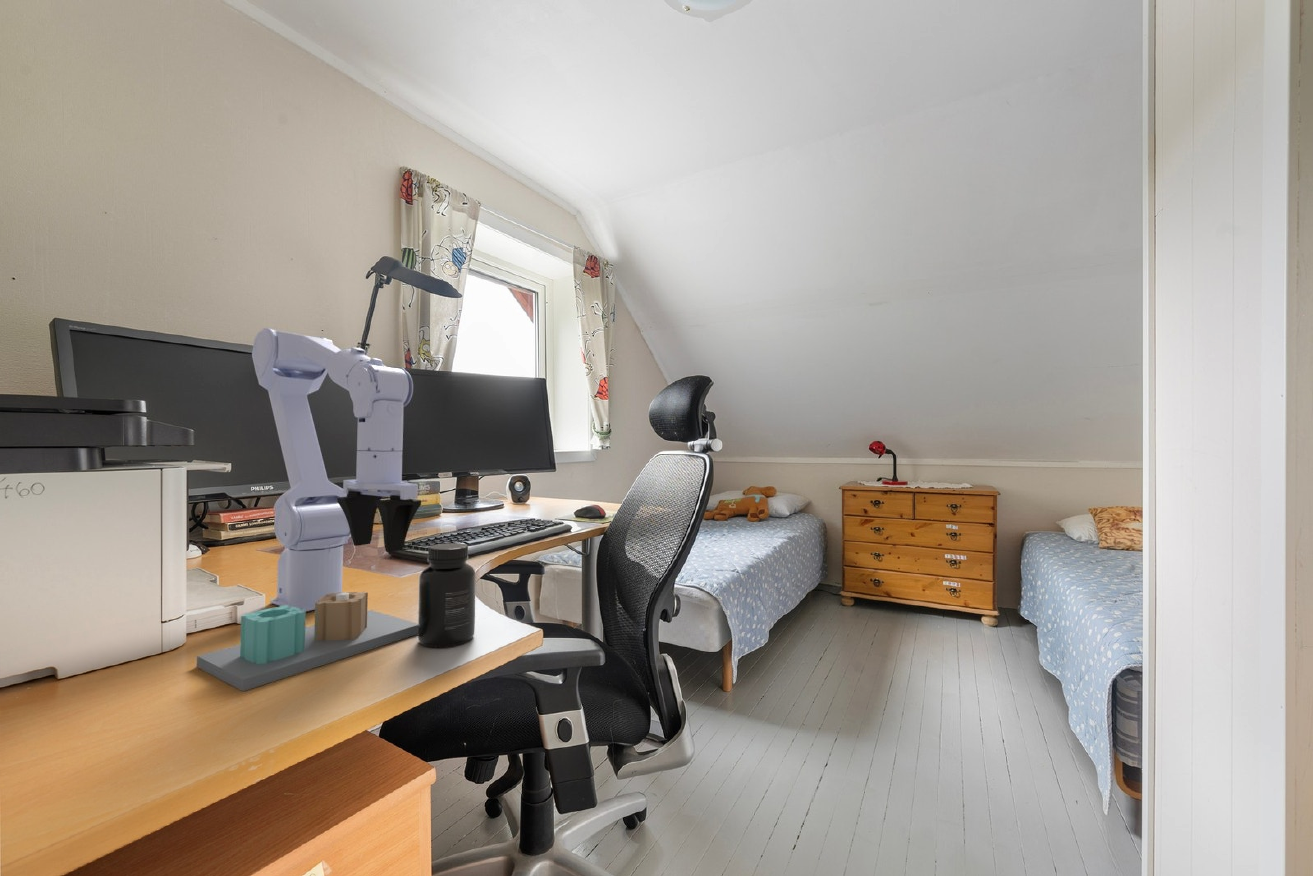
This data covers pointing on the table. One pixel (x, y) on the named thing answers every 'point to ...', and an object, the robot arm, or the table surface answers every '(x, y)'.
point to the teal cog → (272, 634)
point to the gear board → (315, 642)
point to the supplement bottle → (446, 597)
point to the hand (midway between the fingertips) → (377, 547)
